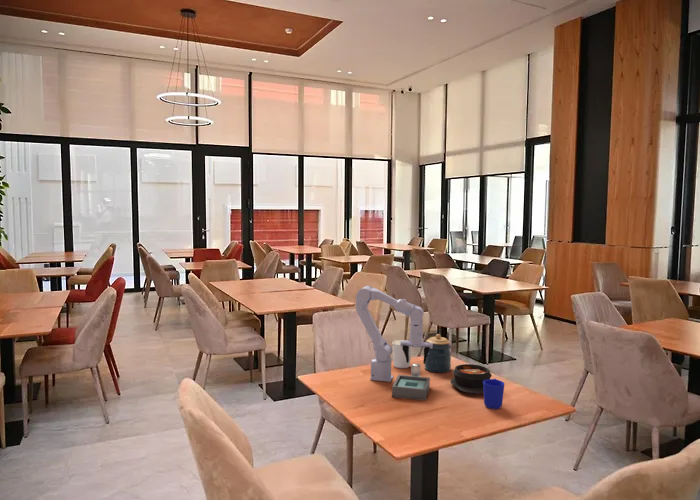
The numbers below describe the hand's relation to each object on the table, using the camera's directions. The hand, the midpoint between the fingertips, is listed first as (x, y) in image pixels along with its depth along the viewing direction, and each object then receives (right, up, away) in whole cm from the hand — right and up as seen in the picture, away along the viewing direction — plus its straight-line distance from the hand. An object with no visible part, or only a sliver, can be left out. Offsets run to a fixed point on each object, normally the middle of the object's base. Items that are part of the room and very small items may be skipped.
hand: (416, 362), depth 229 cm
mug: (+28, -11, -26) cm, 40 cm away
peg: (0, -9, +1) cm, 9 cm away
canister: (+13, -8, +20) cm, 25 cm away
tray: (-4, -10, -13) cm, 17 cm away
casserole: (+24, -10, -6) cm, 27 cm away
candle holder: (-4, -7, +24) cm, 26 cm away
